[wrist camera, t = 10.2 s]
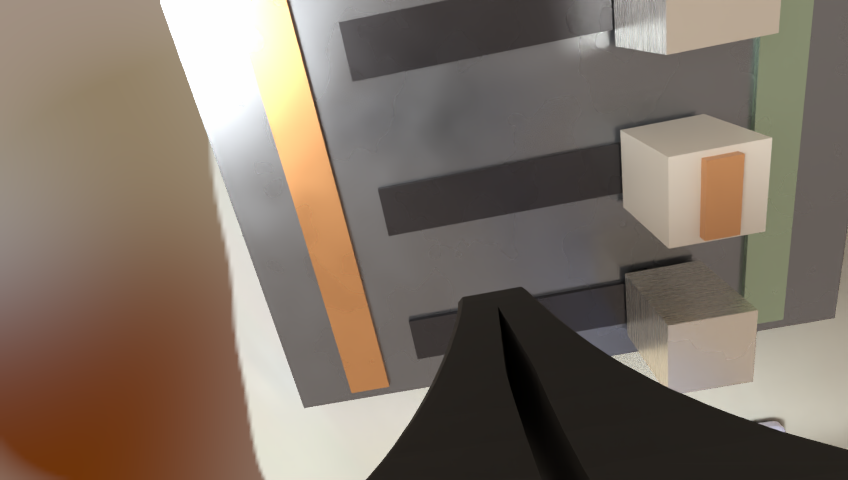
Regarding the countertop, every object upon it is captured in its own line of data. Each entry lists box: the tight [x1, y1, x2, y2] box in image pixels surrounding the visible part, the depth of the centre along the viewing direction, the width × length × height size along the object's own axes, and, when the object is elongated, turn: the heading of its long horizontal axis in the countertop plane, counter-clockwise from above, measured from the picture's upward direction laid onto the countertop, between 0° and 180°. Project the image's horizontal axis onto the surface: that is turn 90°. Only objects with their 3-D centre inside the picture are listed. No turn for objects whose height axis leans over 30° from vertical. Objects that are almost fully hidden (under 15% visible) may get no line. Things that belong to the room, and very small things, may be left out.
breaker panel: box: [160, 0, 848, 408], centre depth 18 cm, size 16×22×5 cm
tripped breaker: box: [620, 114, 772, 249], centre depth 17 cm, size 3×3×4 cm
